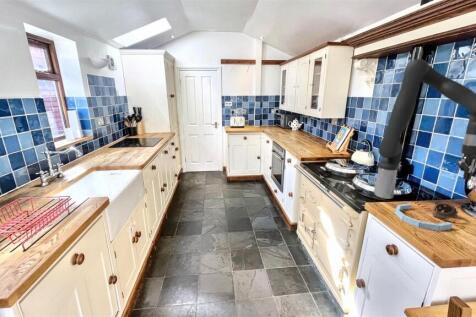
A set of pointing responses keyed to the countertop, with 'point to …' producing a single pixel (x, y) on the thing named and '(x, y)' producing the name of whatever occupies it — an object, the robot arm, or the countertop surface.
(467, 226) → the countertop surface
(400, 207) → the collar
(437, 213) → the pottery mug
